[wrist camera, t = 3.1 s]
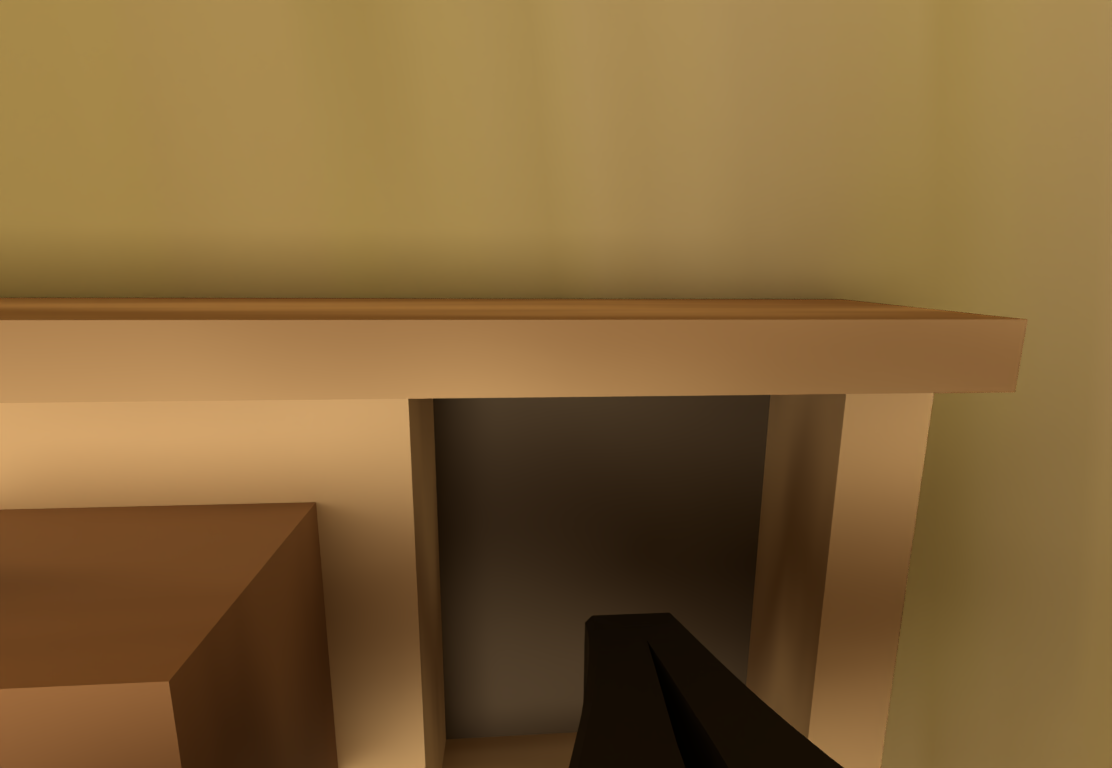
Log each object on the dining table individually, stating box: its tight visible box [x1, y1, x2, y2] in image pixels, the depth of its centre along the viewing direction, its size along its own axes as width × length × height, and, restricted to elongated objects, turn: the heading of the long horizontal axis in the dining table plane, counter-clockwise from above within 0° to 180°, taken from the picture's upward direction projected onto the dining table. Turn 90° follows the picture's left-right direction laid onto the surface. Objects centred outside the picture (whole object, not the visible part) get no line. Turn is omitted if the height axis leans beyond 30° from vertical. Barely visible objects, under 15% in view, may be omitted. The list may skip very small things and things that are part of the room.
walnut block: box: [0, 502, 338, 768], centre depth 7 cm, size 5×5×4 cm
